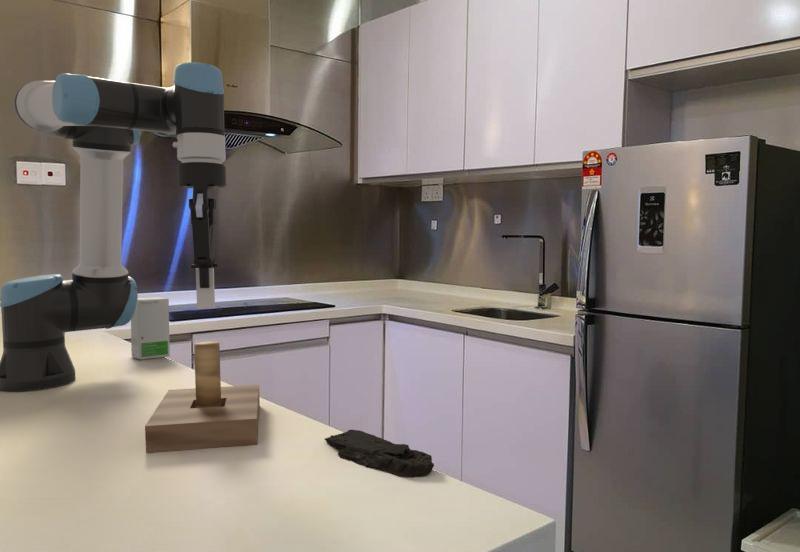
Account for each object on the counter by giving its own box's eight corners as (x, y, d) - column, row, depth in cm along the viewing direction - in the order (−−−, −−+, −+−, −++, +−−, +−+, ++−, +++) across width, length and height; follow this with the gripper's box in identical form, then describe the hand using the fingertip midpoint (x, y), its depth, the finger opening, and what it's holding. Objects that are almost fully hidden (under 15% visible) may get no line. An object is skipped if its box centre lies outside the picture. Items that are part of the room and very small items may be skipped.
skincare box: (139, 360, 161) (136, 300, 160) (130, 357, 166) (128, 298, 165) (171, 356, 166) (169, 297, 165) (162, 352, 171) (160, 296, 170)
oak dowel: (198, 423, 106) (195, 342, 105) (222, 422, 107) (220, 341, 106) (195, 431, 102) (192, 346, 101) (220, 429, 103) (218, 345, 102)
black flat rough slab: (308, 446, 96) (308, 427, 96) (347, 435, 101) (347, 416, 100) (404, 490, 79) (404, 467, 79) (445, 475, 84) (445, 452, 84)
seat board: (169, 411, 114) (168, 389, 114) (259, 405, 117) (259, 384, 117) (145, 452, 92) (144, 426, 92) (257, 444, 96) (256, 418, 95)
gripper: (182, 167, 107) (187, 304, 109) (170, 157, 95) (176, 313, 96) (228, 167, 109) (231, 302, 110) (222, 158, 96) (226, 311, 98)
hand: (206, 307), depth 103 cm, fingers closed
